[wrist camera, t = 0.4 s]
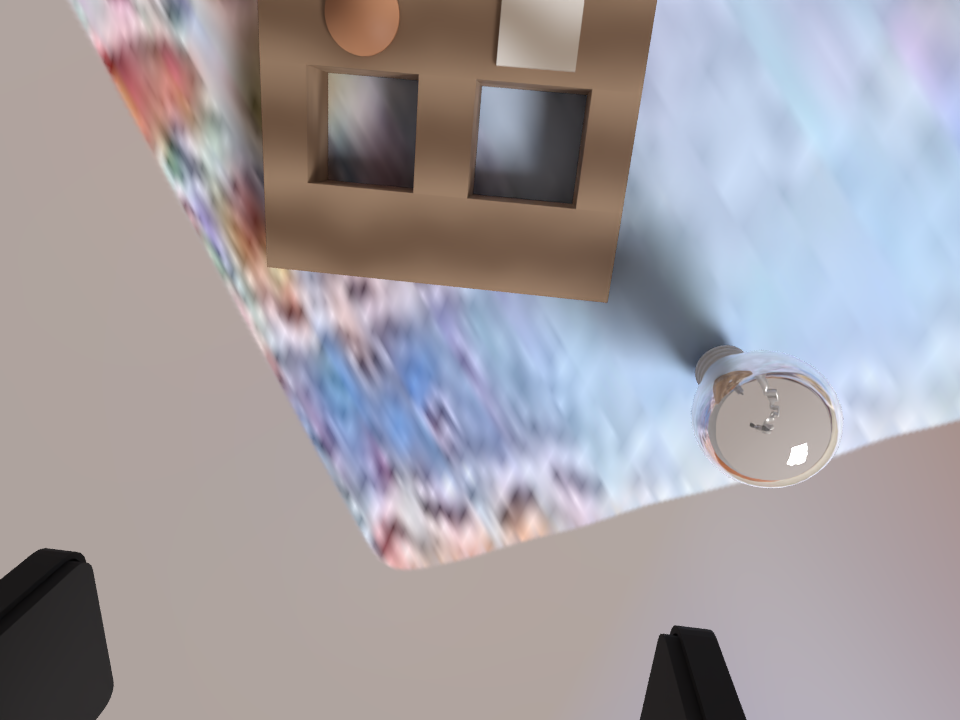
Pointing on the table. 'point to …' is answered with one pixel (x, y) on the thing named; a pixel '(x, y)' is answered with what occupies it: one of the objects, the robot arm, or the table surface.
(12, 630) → the robot arm
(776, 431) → the light bulb
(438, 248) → the socket block
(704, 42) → the table surface
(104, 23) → the table surface
